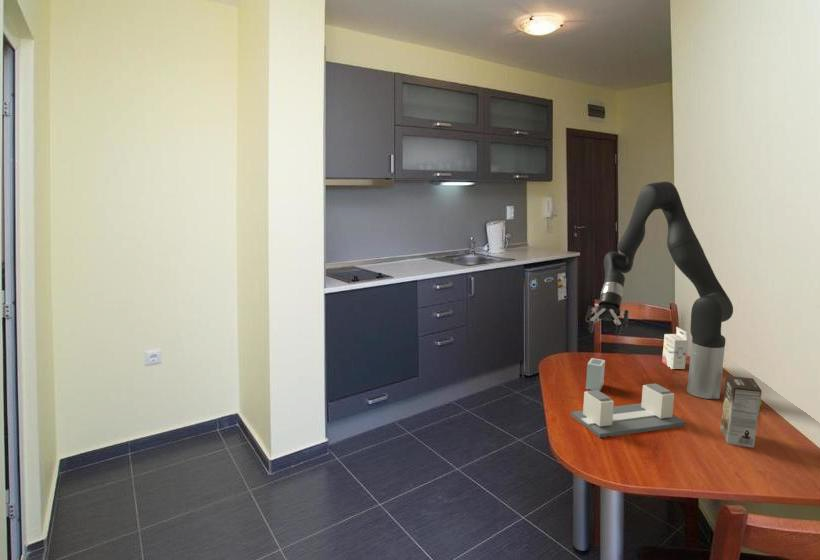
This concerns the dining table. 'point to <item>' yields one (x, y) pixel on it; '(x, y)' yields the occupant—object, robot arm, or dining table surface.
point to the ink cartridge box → (675, 349)
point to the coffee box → (740, 411)
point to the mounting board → (629, 421)
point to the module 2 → (657, 400)
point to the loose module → (595, 374)
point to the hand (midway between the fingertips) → (603, 333)
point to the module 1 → (598, 407)
